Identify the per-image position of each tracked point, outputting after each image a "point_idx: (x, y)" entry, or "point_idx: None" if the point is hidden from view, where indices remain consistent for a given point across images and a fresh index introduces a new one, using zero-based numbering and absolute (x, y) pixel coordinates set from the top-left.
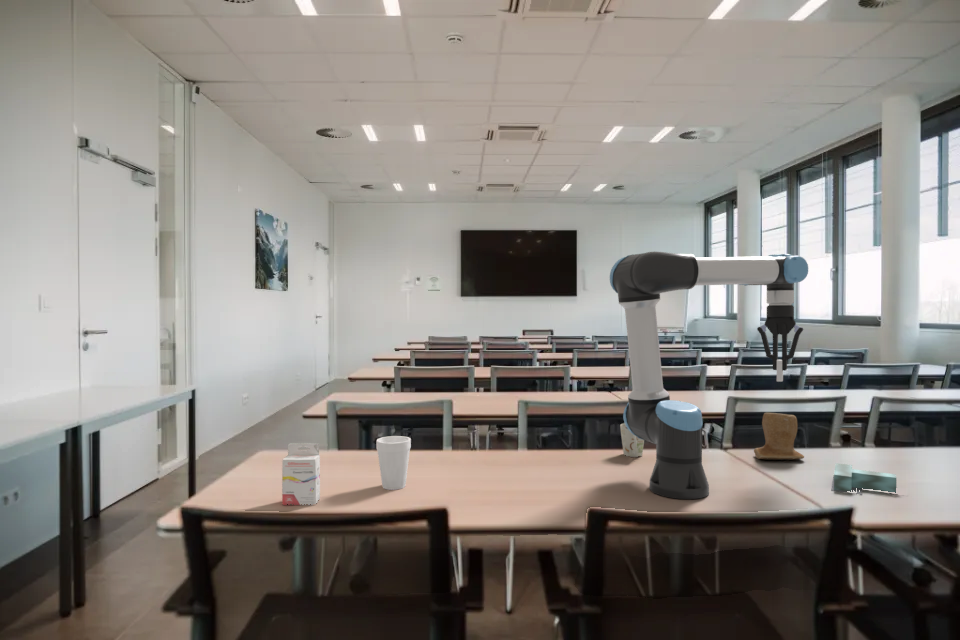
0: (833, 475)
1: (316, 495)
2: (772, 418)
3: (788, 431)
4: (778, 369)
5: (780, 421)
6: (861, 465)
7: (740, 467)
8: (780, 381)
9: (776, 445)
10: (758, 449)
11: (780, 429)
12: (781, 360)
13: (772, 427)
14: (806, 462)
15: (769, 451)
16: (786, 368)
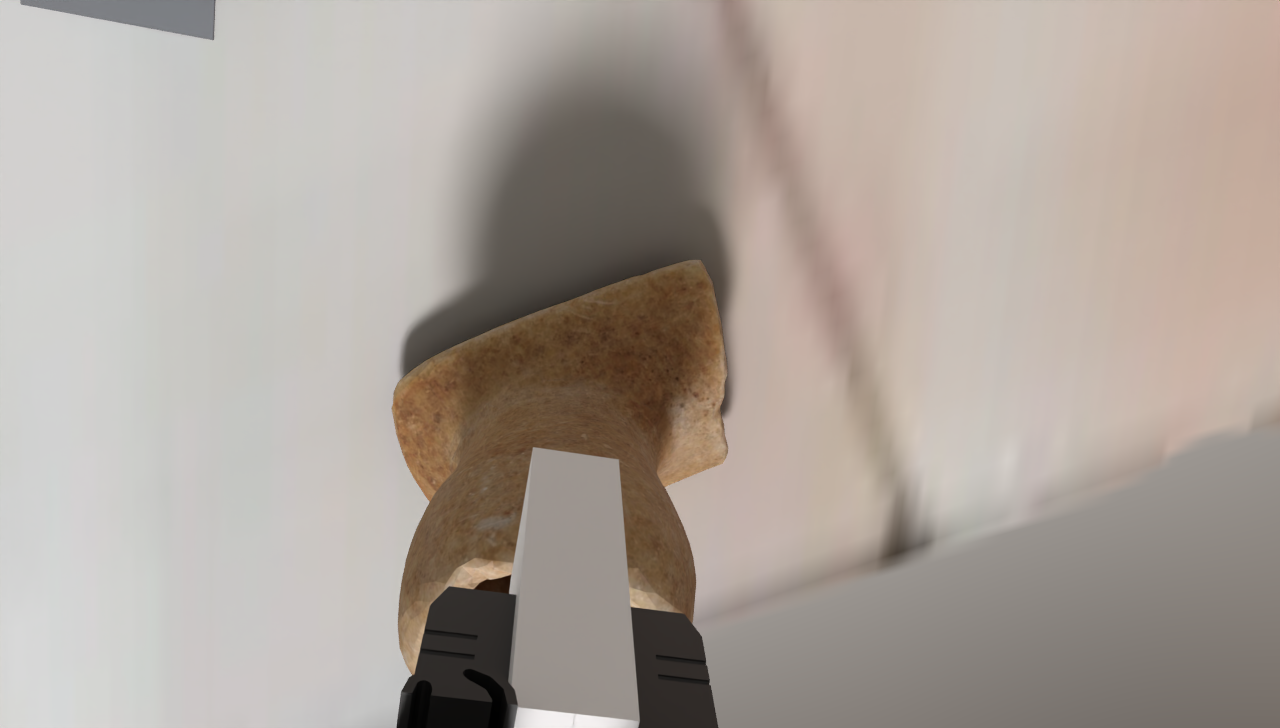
0: (212, 35)
1: None
2: None
3: (483, 464)
4: (593, 573)
5: None
6: (33, 420)
7: (851, 40)
8: (557, 451)
9: (580, 403)
10: (711, 350)
11: None
12: (524, 703)
13: None
14: (384, 372)
15: (633, 338)
16: (429, 609)
